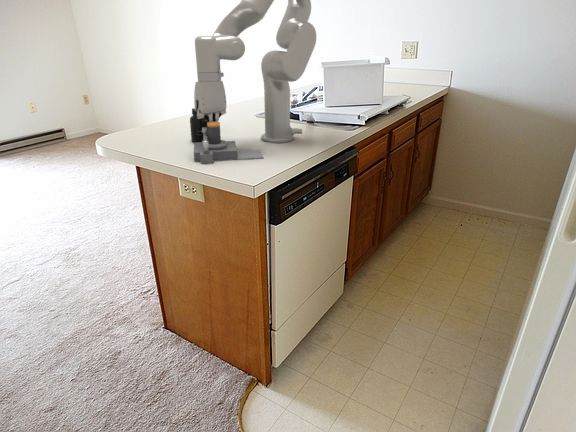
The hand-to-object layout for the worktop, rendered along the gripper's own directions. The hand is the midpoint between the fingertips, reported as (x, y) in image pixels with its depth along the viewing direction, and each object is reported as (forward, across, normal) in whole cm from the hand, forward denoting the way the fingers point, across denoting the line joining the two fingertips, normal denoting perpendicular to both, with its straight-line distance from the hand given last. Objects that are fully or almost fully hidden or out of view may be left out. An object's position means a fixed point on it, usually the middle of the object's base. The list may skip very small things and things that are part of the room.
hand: (213, 132), depth 143 cm
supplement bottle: (+6, -3, -14) cm, 16 cm away
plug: (+6, +2, +5) cm, 8 cm away
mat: (+6, -6, +12) cm, 15 cm away
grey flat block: (+6, +3, +6) cm, 9 cm away
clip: (+3, +6, +5) cm, 8 cm away
